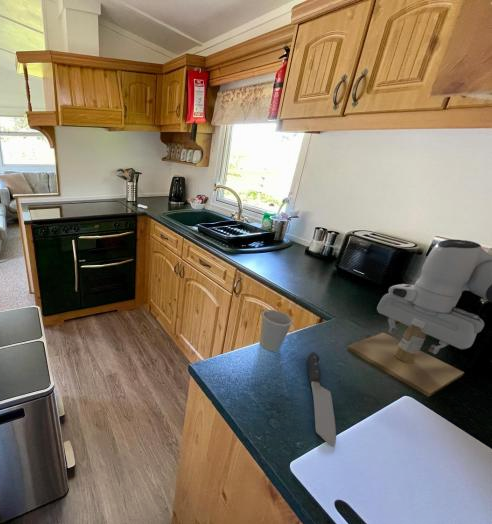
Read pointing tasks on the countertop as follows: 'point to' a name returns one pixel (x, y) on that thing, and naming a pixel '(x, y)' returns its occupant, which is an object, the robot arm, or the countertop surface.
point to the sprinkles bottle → (411, 342)
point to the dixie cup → (274, 329)
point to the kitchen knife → (321, 402)
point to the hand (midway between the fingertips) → (411, 342)
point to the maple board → (406, 364)
